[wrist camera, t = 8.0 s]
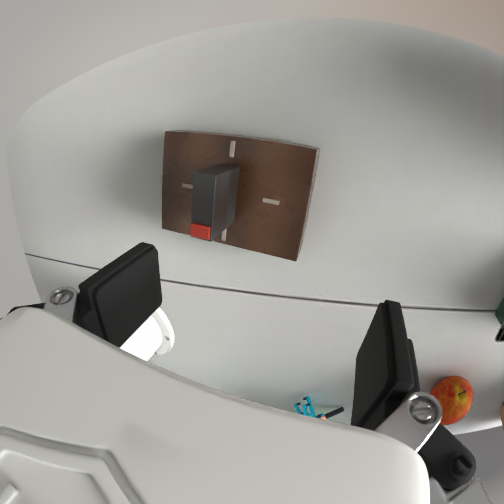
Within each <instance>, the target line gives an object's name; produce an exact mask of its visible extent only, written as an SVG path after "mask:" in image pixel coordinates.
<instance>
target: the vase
mask: <svg viewBox="0 0 504 504" xmlns="http://www.w3.org/2000/svg"><path fill="white" fill-rule="evenodd" d="M500 416H501V421H502V425H503V429H504V403H503V405H502V407H501V410H500Z"/></svg>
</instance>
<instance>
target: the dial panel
mask: <svg viewBox="0 0 504 504" xmlns="http://www.w3.org/2000/svg"><path fill="white" fill-rule="evenodd" d="M319 152H320V148H317V147H312V146H307V145H302V144H296V143H290V142H284V141H278V140H272V139H265V138H258V137H250V136H242V135H234V134H224V133H213V132H201V131H186V130H176V131H165V139H164V157H163V182H162V229H166V230H170V231H174V232H178V233H183V234H187V235H191V209H192V189H193V173H194V172H196V171H199V170H203V169H206V168H209V167H212V166H216V165H219V164H227V165H234V166H240V174H239V183H238V192H237V202H236V212H235V221H234V222H233V223H232V224H231V225H229V226H228V227H227V228H226V229H225V230H224V231H223V232H221V233H220V234H219V235H218V236H217V237H216V238H215V239H214V240H212V241H215V242H219V243H223V244H228V245H232V246H236V247H240V248H244V249H248V250H252V251H256V252H260V253H264V254H268V255H272V256H276V257H281V258H285V259H289V260H293V261H297V258H298V255H299V253H300V250H301V246H302V241H303V237H304V232H305V227H306V222H307V217H308V212H309V207H310V202H311V196H312V191H313V186H314V180H315V175H316V169H317V163H318V158H319Z"/></svg>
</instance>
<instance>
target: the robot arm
mask: <svg viewBox="0 0 504 504" xmlns="http://www.w3.org/2000/svg"><path fill="white" fill-rule="evenodd" d="M79 289H80V293H78V294H77V291H76V290H75V289H74V288H72V287H60V288H58V289H55V290H54V291H52V292H51V293H50V294H49V295H48V297H47V299H46V302H45V303H41V304H33V305H27V306H20V307H14V308H13V309H11V310H10V312H9V313H8V314H7V315H6V316H5V317H4V318H0V504H491V502H490V500H489V498H488V496H487V493H486V491H485V489H484V487H483V485H482V483H481V481H480V479H479V478H477V479H476V480H475V478H474V474H475V470H476V461H475V458H474V456H473V455H472V453H471V452H470V451H469V450H468V449H467V448H466V447H465V446H464V445H463V444H462V443H461V442H460V441H458V440H457V439H456V438H455V437H454V436H453V435H452V434H451V433H450V432H449V431H448V430H447V429H446V428H445V427H444V426H443V425H442V424H441V423H440V421H441V419H442V416H443V410H442V406H441V404H440V402H439V401H438V400H437V399H436V398H435V397H434V396H433V395H431V394H429V393H426V392H420V385H419V378H418V371H417V365H416V359H415V353H414V348H413V343H412V340H411V339H407V333H406V328H405V323H404V318H403V314H402V309H401V305H400V303H399V302H394V301H390V300H385V302H384V303H380V304H379V305H378V308H377V310H376V313H375V315H374V318H373V320H372V322H371V325H370V327H369V329H368V332H367V334H366V336H365V338H364V341H363V343H362V345H361V347H360V349H359V351H358V354H357V358H356V370H355V386H354V398H353V409H352V418H351V425H347V424H342V423H338V422H333V421H328V420H324V419H319V418H314V417H310V416H306V415H302V414H297V413H294V412H290V411H286V410H282V409H278V408H274V407H270V406H267V405H263V404H260V403H256V402H253V401H250V400H247V399H243V398H240V397H237V396H234V395H231V394H228V393H225V392H222V391H219V390H216V389H214V388H211V387H208V386H205V385H203V384H200V383H197V382H195V381H192V380H190V379H187V378H185V377H182V376H180V375H177V374H175V373H172V372H170V371H168V370H165V369H163V368H161V367H159V366H156V365H154V364H152V363H150V362H147V361H148V360H149V359H150V358H151V356H162V355H165V354H166V353H168V352H169V350H170V349H171V348H172V346H173V344H174V332H173V328H172V326H171V323H170V321H169V320H168V318H167V316H166V315H165V313H164V312H163V311H162V309H161V308H160V305H161V303H162V292H161V283H160V273H159V262H158V251H157V250H156V249H155V246H154V245H151V244H148V243H144V242H142V243H139V244H138V245H136V246H135V247H133V248H132V249H130V250H129V251H127V252H126V253H124V254H123V255H121V256H120V257H118V258H117V259H115V260H114V261H112V262H111V263H109V264H108V265H106V266H105V267H104V268H102V269H101V270H99V271H98V272H96V273H95V274H93V275H92V276H91V277H89V278H88V279H86V280H85V281H84V282H82V283H81V284H79Z"/></svg>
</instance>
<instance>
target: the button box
mask: <svg viewBox="0 0 504 504" xmlns="http://www.w3.org/2000/svg"><path fill="white" fill-rule="evenodd" d="M495 316H496V317H497V319H498V321H499V323H500V324H501V325H504V298H503V300H502V302H501V304H500V306H499V307H498V309H497V311H496V313H495Z"/></svg>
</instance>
